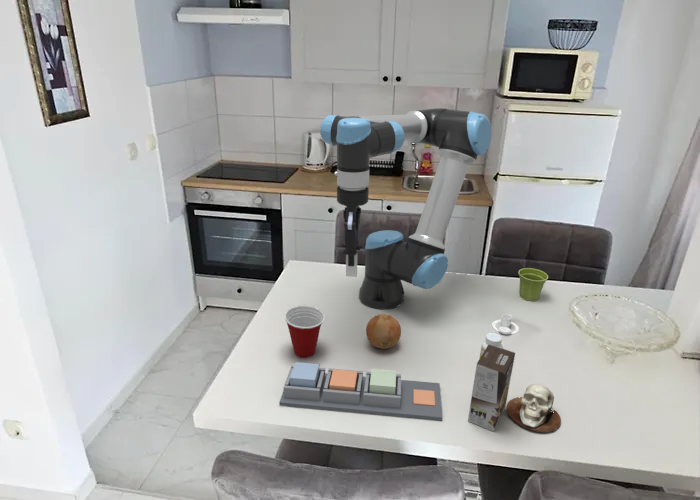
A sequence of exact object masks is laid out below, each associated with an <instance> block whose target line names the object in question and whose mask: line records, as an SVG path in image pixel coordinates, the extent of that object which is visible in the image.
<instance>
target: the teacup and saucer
mask: <svg viewBox="0 0 700 500" xmlns="http://www.w3.org/2000/svg"><path fill="white" fill-rule="evenodd" d="M512 320H513V316H512V315H511V314H509V313H502V314H501V318H500V319H496V320H494V321H493V322H492V323H491V326H492V328H493V330H495V331H497V332H498V333H500V334H501V335H502V334H503V335H514V334H517V333H519V331H520V327H519V325H518V324H516V323H515V322H513V321H512ZM497 323H500V326H499V327H498V328H497V325H496V324H497ZM511 325H513V327H514V328H515V329H514V330H513V331H512V330H511V329H510V326H511Z"/></svg>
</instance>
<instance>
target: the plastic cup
mask: <svg viewBox="0 0 700 500" xmlns="http://www.w3.org/2000/svg"><path fill="white" fill-rule="evenodd" d="M283 315H284V320H285V322H286V325H287V328H288V332H289V338H290V340H291V345H292V348H293V351H294V352H293V353H294V355H296V357H299V358H302V359H303V358H311V357H312V356H314V355H315V353H316V350H317V344H318V340H319V336H320V331H321V326H322V324H323V323H324V322H325V318H326V316H325V314H324V312H323V311H322V310H321V309H320V308H318V307H315V306H312V305H308V304H304V305H301V304H300V305H296V306H292V307H290V308H288V309H287V310H286V311H285V313H284V314H283Z"/></svg>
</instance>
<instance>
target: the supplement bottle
mask: <svg viewBox="0 0 700 500" xmlns="http://www.w3.org/2000/svg"><path fill="white" fill-rule="evenodd" d="M484 339H485V340H483V341H482V342H481V347H480V353H479V358H478V359H480V358H481V356H482V354H483V353H484V351H485V349H486V348H487V346H488V345H491V346H494V347H498V348H502V349H504V347H503V344H502V342H503V341H502V340H503V337H502V336H501V335H500V334H498V333H495V332H489V333H487V334H485V338H484Z"/></svg>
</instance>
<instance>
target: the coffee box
mask: <svg viewBox="0 0 700 500" xmlns="http://www.w3.org/2000/svg"><path fill="white" fill-rule="evenodd" d="M515 357H516V352H515V351H514V352H513V351H511V350H508V349H504V348H503V349H502V348H498V347H494V346H491V345H488V346H487V348H486V349H485V351H484V353H483V354H482V356H481V358H480V357H479V358H480V359H479V358H478V359H479V360H478V361H477V362H476V366H475V373H474V377H473V378H474V379H473V385H472V393H471V399H470V405H469V411H468V418H467V421H468V422H469V423H472V424H475V425H478V426H480V427H482V428H484V429H487V430H489V431H491V432H494V431H495V430H496V428H497V426H498V424H499V421H500V420H501V418H502V416H503V413H504V412H505V410H506V407H507V399H508V395H509V390H510V384H511V377H512V373H513V368H514V367H513V366H514V363H515Z"/></svg>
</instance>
